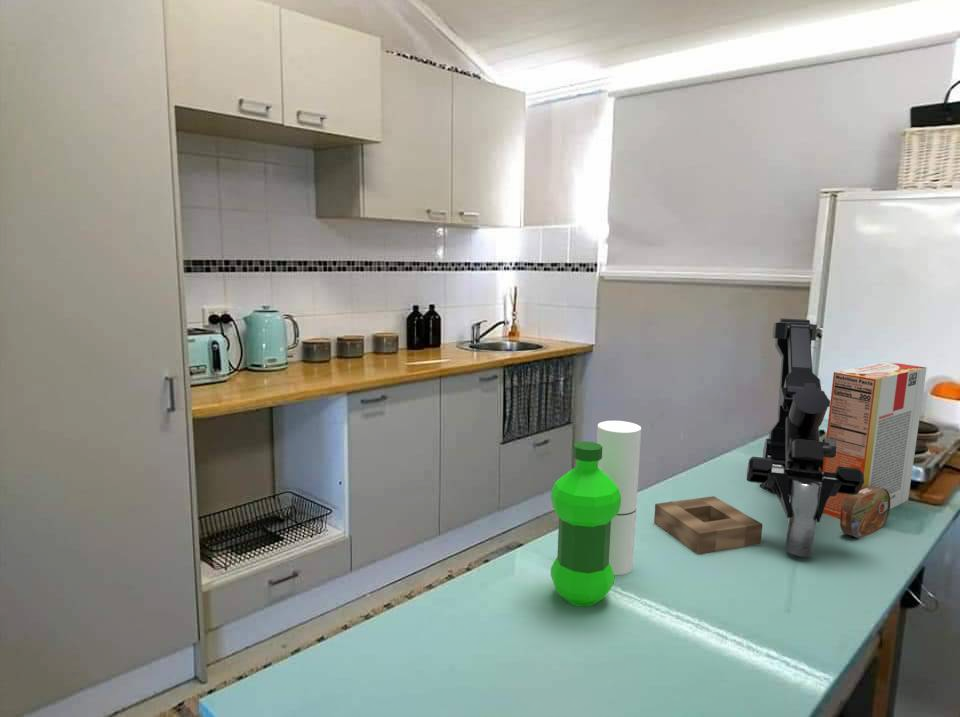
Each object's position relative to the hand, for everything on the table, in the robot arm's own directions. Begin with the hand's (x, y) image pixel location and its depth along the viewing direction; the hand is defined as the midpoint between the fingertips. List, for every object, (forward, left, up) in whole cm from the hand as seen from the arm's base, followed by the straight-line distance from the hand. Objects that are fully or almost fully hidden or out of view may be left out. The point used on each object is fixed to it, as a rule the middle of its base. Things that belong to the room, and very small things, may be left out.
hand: (803, 519), depth 116 cm
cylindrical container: (-8, -33, -8) cm, 35 cm away
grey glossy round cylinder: (-1, +1, -7) cm, 7 cm away
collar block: (-14, -9, -8) cm, 18 cm away
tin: (-6, +22, -8) cm, 24 cm away
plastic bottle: (0, -43, -8) cm, 44 cm away
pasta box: (-16, +33, -8) cm, 37 cm away
